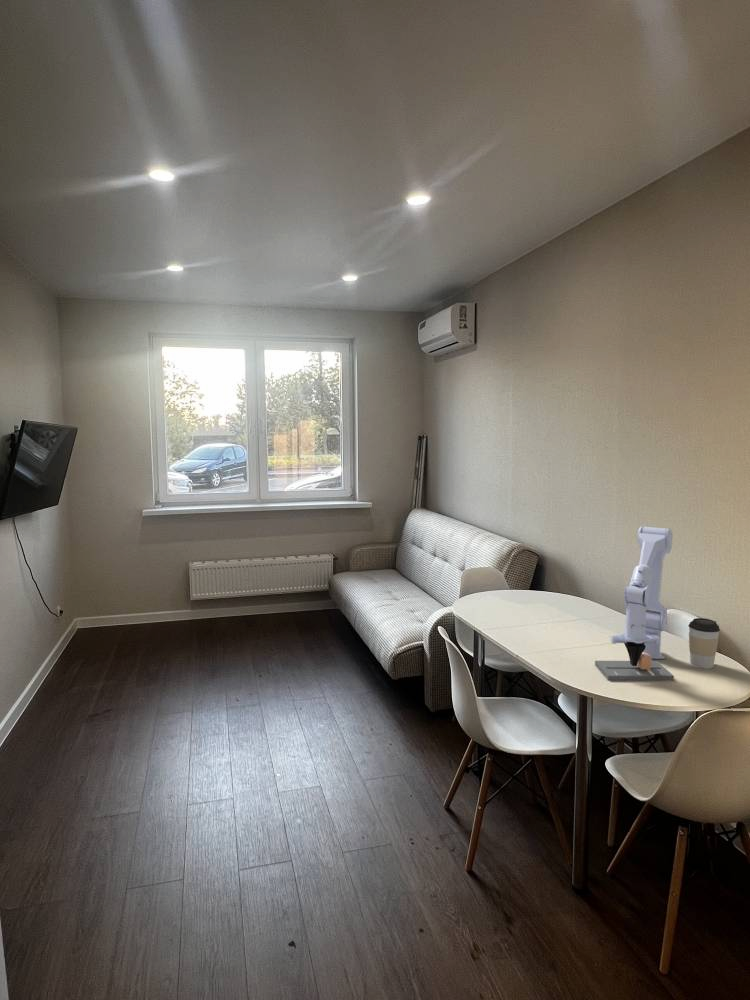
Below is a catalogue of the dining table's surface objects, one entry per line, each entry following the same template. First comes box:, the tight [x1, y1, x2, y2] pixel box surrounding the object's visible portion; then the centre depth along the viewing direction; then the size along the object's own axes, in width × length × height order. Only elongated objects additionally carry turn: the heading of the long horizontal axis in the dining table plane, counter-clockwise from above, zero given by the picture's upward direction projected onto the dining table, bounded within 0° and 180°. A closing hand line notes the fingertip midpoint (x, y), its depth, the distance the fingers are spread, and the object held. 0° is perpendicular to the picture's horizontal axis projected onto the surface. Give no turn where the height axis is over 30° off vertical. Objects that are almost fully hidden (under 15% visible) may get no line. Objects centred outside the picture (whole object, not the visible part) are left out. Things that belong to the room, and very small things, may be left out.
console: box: [594, 660, 675, 682], centre depth 191 cm, size 12×20×2 cm, turn 88°
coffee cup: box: [688, 617, 721, 669], centre depth 196 cm, size 9×9×15 cm
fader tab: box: [637, 652, 652, 669], centre depth 190 cm, size 4×3×4 cm
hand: (633, 664), depth 190 cm, fingers closed
